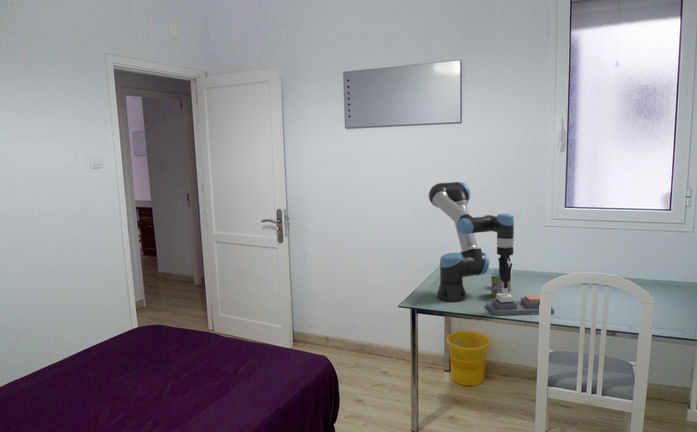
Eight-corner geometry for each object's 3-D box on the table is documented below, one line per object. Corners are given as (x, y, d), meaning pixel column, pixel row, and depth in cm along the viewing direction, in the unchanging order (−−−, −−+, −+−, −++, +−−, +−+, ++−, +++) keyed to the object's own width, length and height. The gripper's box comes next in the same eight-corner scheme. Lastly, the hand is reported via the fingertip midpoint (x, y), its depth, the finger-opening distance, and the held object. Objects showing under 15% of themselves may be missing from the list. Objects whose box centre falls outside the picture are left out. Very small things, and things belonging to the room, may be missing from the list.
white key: (500, 302, 222) (500, 297, 222) (496, 298, 228) (496, 293, 228) (512, 301, 222) (512, 296, 222) (508, 297, 228) (508, 293, 228)
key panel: (494, 315, 219) (494, 306, 218) (485, 305, 233) (485, 297, 232) (553, 313, 219) (554, 304, 218) (541, 303, 233) (541, 295, 232)
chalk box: (509, 299, 241) (510, 272, 239) (491, 298, 244) (491, 271, 242) (510, 294, 249) (510, 267, 247) (492, 293, 253) (492, 266, 251)
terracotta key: (529, 304, 222) (529, 299, 222) (524, 300, 228) (524, 295, 228) (542, 304, 222) (542, 299, 222) (537, 300, 228) (537, 295, 228)
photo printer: (493, 287, 263) (493, 266, 261) (497, 285, 266) (497, 264, 264) (509, 291, 255) (509, 269, 253) (513, 289, 258) (514, 267, 256)
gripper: (517, 248, 215) (517, 297, 218) (508, 243, 228) (507, 289, 231) (501, 249, 215) (501, 298, 218) (493, 243, 228) (492, 290, 231)
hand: (504, 293), depth 225 cm, fingers closed
